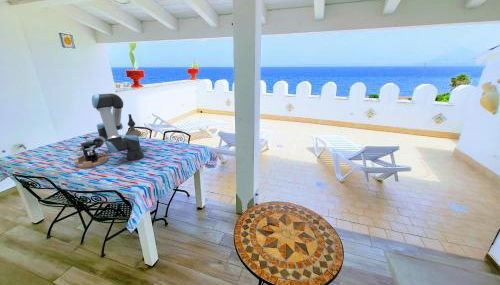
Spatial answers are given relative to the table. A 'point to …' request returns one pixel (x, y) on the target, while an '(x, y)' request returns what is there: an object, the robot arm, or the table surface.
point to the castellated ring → (83, 164)
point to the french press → (91, 155)
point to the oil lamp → (132, 128)
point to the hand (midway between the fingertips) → (85, 149)
